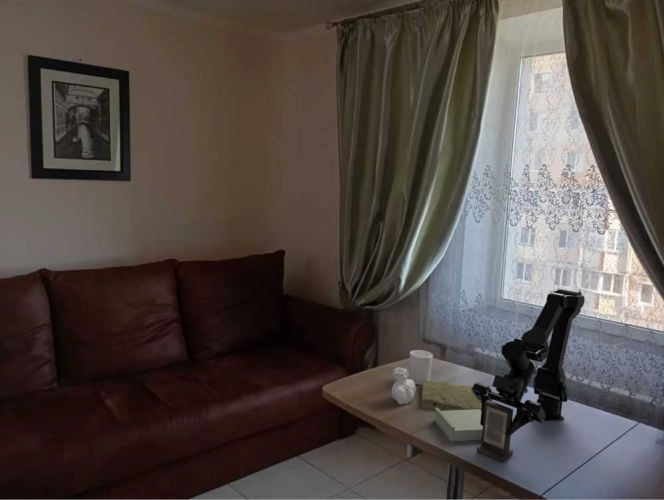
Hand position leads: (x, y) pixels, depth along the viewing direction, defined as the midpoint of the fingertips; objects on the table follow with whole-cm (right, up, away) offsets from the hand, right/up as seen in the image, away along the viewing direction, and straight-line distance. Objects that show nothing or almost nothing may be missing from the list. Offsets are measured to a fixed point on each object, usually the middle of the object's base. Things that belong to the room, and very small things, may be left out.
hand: (494, 430), depth 135 cm
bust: (-19, -2, +32) cm, 38 cm away
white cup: (-11, 0, +48) cm, 49 cm away
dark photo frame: (+1, -7, +2) cm, 7 cm away
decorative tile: (-3, -3, +32) cm, 33 cm away
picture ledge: (-4, -5, +14) cm, 15 cm away
